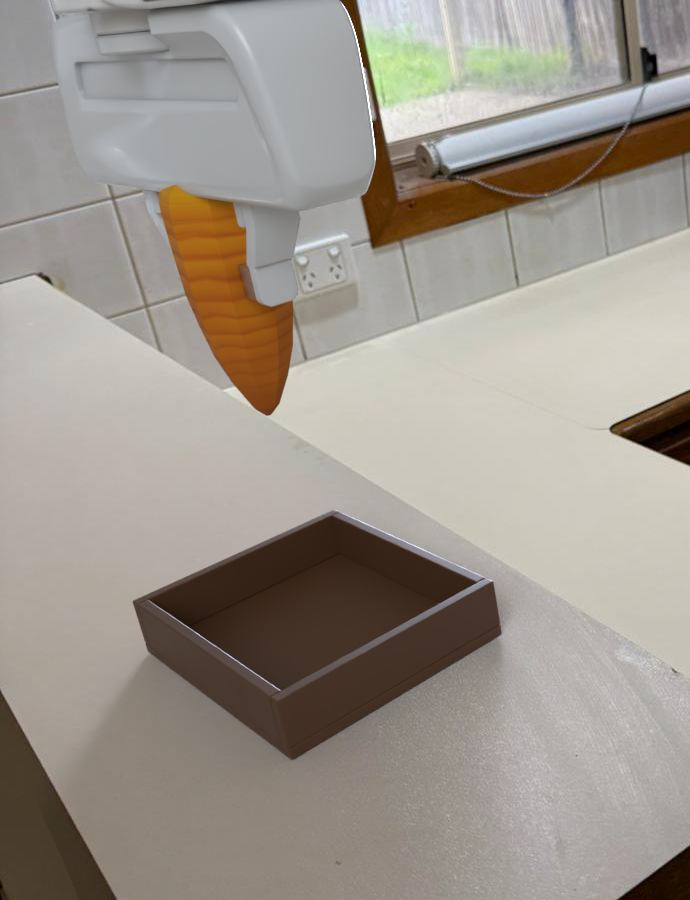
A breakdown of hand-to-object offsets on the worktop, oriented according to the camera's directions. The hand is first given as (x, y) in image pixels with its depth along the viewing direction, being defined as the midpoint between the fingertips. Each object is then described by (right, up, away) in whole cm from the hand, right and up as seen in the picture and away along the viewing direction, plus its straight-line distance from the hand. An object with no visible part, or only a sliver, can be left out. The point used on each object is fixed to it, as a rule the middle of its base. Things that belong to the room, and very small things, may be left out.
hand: (238, 293), depth 51 cm
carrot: (+1, -5, +3) cm, 6 cm away
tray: (+2, -17, +7) cm, 19 cm away
